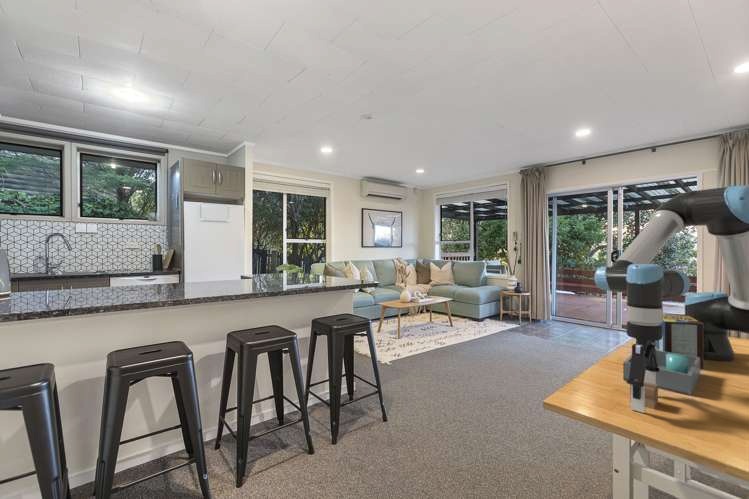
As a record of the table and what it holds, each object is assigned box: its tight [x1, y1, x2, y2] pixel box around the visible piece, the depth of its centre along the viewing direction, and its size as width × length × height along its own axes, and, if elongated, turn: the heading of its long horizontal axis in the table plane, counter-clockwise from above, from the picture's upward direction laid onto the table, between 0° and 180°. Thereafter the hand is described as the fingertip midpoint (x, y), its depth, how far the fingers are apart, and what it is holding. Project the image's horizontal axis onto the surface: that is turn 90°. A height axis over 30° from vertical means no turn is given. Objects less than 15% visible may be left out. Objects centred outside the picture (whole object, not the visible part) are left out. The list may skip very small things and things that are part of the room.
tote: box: [622, 350, 701, 397], centre depth 110 cm, size 22×16×6 cm
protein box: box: [655, 312, 704, 370], centre depth 125 cm, size 10×15×16 cm
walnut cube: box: [629, 380, 659, 410], centre depth 93 cm, size 5×5×5 cm
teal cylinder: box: [666, 353, 688, 374], centre depth 107 cm, size 5×5×7 cm
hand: (643, 402), depth 93 cm, fingers open, 13 cm apart
